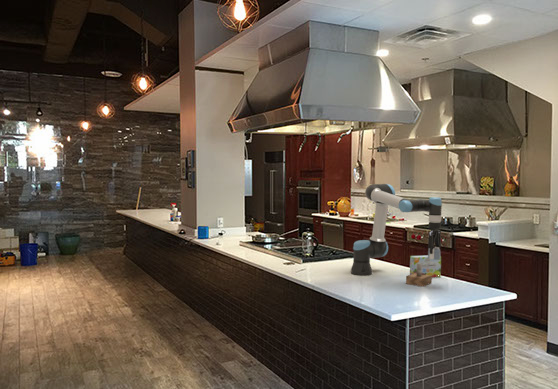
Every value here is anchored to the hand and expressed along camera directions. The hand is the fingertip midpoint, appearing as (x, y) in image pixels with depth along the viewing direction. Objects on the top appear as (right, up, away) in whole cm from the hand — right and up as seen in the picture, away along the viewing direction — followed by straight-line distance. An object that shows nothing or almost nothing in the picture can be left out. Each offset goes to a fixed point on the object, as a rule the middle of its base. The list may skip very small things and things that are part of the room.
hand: (434, 258), depth 306 cm
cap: (0, 0, 0) cm, 0 cm away
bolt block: (-7, -18, +10) cm, 22 cm away
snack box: (+3, -17, +30) cm, 35 cm away
